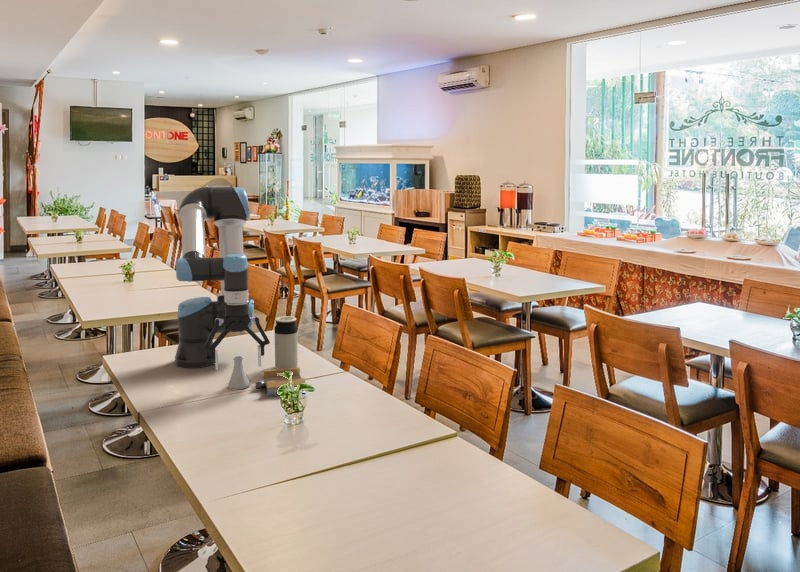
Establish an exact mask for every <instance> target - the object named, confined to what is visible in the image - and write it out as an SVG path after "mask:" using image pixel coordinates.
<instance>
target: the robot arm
mask: <svg viewBox="0 0 800 572" xmlns="http://www.w3.org/2000/svg"><path fill="white" fill-rule="evenodd" d="M178 218H179V220H180V221H181V231H182V232H181V249H182V250H181V251H182V252H181V253H182V254H181V258H177V259H176V261H175V274H176V280H177V281H179V282H189V283H191V282H203V281H204V282H205V281H207V282H208V281H220V292H219V294H218V295H217V296H216V297H217V298H216V299H217V300H216V301H215V300H214V301H212V298H211V297H209V296H199V297H192V298H189V299H185V300H182V301H181V302H179V304H178V306H177V319H178V346H177V349H176V352H175V355H174V364H175V366H177V367H181V368H189V369H190V368H192V369H194V368H204V367H205V368H206V367H210V366H212V365H215V370H219V353H218V351H219V350H218V349H219V348H218V346H219V344H221V342H222V341H223V340H224V338H226V336H227V335H228V334H229V333H243V332H247V333H248V334H249V335H250V337H252V338H253V339H254V340H255V341H256V343H257V344H258V345H257V365H258V367H259V368H260V367H262V357H264V356H265V346H267V345H270V343H271V342H270V340H269V337H268V336H267V334H266V333H265V330H264V329H263V326H262V325H261V323H260V318H259V316H258V315H255V316H254V311H255V310H254V309H255V304H254V303H255V300H254V299H251V298H250V293H249V280H248V279H249V277H248V276H249V275H248V274H249V273H248V272H249V271H248V269H249V263H248V257H247V255H245V254H244V237H243V234H244V233H243V227H244V226H245V225H246V224H247V220H248V219H250V218H251V211H250V205H249V199H248V194H247V191H246V189H245V188H243V187H234V186H223V187H221V186H217V187H216V186H215V187H214V186H213V187H211V186H210V187H209V186H201V187H198V188H195V189H194V190H191V191H190V192H189V193H188V194H187V195H186V196H185V197H184V198H183V200H182V201H181V202H180V205H179V209H178ZM207 219H209V220H213V223H214V225H215V226H216V227H217V229H218V243H219V244H218V245H219V257H207V255H206V238H205V237H206V236H205V235H206V234H205V233H206V231H205V221H206V220H207ZM253 324H254V325H255V326H256V328H257V329H258V331H259V333H260V335H261V336H262V338H263V340H262V339H261V338H260V337H259V336H258V335H257V334H256V333H255V332H254V330H252V326H253ZM216 334H219V335H218V336H217V338H216V339H215V340H214V338H215V336H216ZM213 340H214V341H213Z"/></svg>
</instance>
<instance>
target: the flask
mask: <svg viewBox="0 0 800 572" xmlns="http://www.w3.org/2000/svg"><path fill="white" fill-rule="evenodd" d="M232 357H233V359H232V360H233V369H232V373H231V375H230V379H229V382H228V385H227V389H229V390H230V389H231V390H245V389H247V388H249V387H250V386H251V385H250V381H249V378H248V376H247V373H246V371H245V369H244V364H243V359H244V357H243V355H241V356H240V355H237V356H236V355H235V356H232Z"/></svg>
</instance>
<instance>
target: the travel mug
mask: <svg viewBox="0 0 800 572" xmlns="http://www.w3.org/2000/svg"><path fill="white" fill-rule="evenodd" d="M274 320H275V326H274V367H275V368H274V369H286V368H299V365H298V363H299V361H298V360H299V358H298V352H299V351H298V326H297V323H296V322H297V318H296V317H295V316H291V315H290V316H287V315H285V316H283V315H282V316H278V317H275V319H274Z"/></svg>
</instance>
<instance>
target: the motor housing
mask: <svg viewBox="0 0 800 572" xmlns="http://www.w3.org/2000/svg"><path fill="white" fill-rule="evenodd" d="M285 371H292V372H293V375H292V382H293V386H294V387H297V385H298V383H305V384H306V379H305V377H303V378H302V376H301V368H300V367H297V368H286V369H277V368H274V369H273V368H272V369H264V370H262V381H255V390H265V394H266V396H267V398H270V397H280V396H279V395H278V394H277V390H278V388H279V387H280V386H281V385H284V384H287V383H288V379H287V378H285V377H283V376H277V373H283V372H285Z"/></svg>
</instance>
